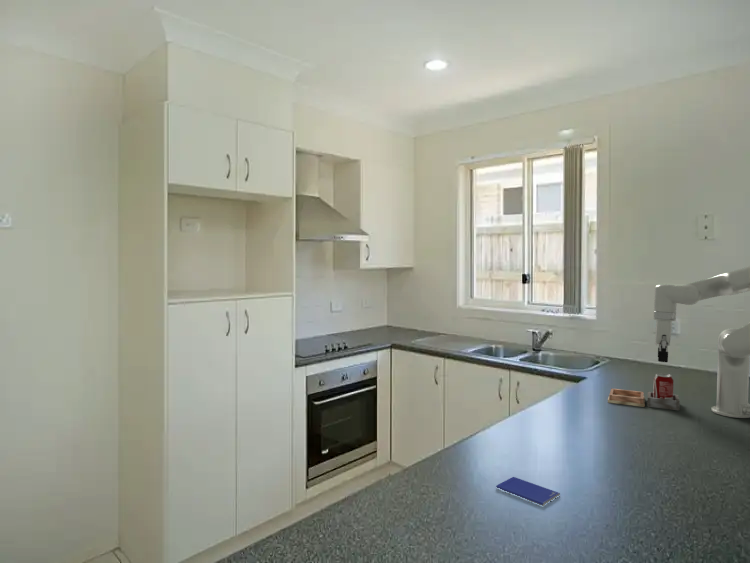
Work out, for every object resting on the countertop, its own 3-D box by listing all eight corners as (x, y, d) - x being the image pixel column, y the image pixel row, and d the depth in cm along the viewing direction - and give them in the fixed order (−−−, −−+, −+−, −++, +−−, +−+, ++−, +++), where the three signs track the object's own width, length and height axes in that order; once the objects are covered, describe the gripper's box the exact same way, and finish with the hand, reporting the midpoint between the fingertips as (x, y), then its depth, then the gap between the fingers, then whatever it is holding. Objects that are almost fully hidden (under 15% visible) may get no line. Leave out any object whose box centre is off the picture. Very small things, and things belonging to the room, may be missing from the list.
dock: (677, 402, 202) (678, 394, 202) (679, 411, 191) (679, 402, 191) (609, 395, 214) (610, 386, 214) (607, 402, 203) (607, 393, 203)
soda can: (676, 407, 196) (677, 376, 195) (658, 407, 196) (659, 376, 195) (666, 402, 203) (667, 373, 202) (649, 402, 203) (650, 372, 202)
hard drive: (560, 492, 121) (514, 475, 130) (542, 503, 115) (495, 485, 124) (560, 498, 121) (514, 482, 130) (542, 509, 115) (495, 491, 124)
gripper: (653, 313, 207) (651, 355, 208) (653, 317, 192) (651, 362, 193) (674, 314, 204) (672, 357, 205) (676, 319, 189) (674, 364, 189)
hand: (662, 359), depth 199 cm, fingers open, 9 cm apart
